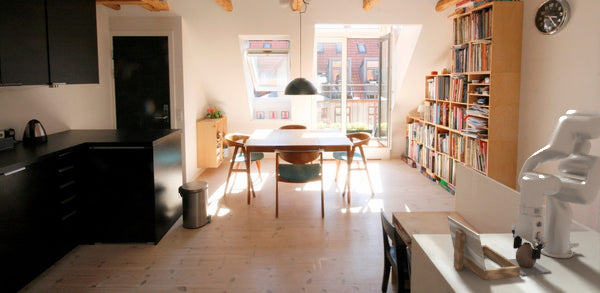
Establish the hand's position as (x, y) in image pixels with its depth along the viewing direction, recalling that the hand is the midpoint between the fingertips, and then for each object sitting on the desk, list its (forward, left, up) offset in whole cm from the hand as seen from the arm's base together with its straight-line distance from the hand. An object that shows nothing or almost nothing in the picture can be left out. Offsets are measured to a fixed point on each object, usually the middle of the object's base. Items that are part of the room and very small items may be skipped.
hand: (526, 253), depth 158 cm
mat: (0, 0, -5) cm, 5 cm away
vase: (0, 0, -5) cm, 5 cm away
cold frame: (+17, -4, -5) cm, 18 cm away
